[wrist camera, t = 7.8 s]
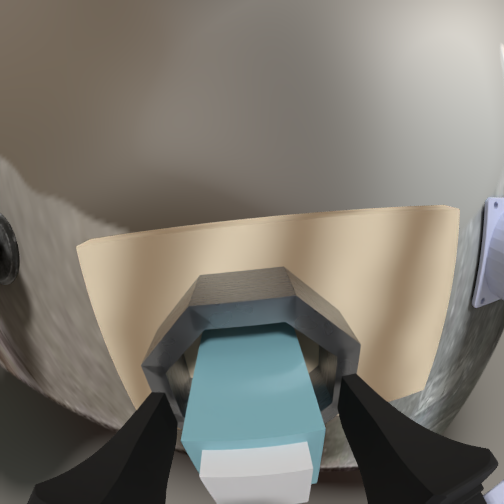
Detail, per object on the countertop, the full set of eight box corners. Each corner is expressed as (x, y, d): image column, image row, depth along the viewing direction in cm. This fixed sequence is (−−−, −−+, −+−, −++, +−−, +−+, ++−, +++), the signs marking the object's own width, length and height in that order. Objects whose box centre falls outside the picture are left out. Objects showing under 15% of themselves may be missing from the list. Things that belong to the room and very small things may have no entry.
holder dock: (443, 205, 13) (497, 220, 9) (414, 377, 17) (441, 415, 13) (90, 239, 13) (41, 266, 9) (150, 412, 17) (136, 459, 12)
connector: (288, 311, 13) (333, 456, 5) (291, 373, 14) (321, 503, 6) (204, 320, 13) (176, 468, 5) (218, 381, 14) (209, 512, 6)
